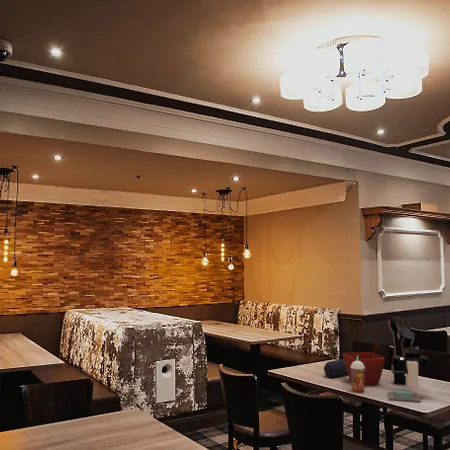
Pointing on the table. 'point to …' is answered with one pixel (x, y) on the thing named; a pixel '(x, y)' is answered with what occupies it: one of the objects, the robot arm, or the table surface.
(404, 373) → the robot arm
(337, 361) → the portable speaker
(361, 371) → the smoothie
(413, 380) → the cream pillar
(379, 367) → the plant pot
